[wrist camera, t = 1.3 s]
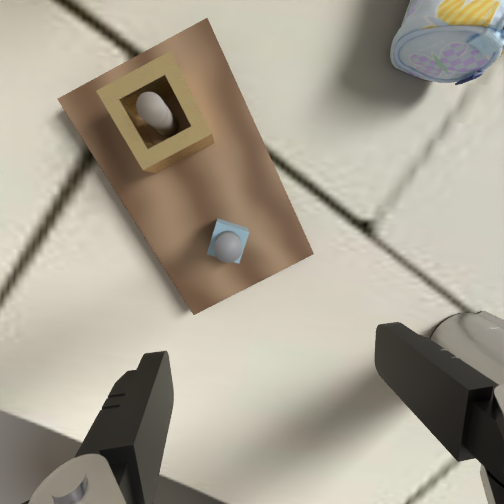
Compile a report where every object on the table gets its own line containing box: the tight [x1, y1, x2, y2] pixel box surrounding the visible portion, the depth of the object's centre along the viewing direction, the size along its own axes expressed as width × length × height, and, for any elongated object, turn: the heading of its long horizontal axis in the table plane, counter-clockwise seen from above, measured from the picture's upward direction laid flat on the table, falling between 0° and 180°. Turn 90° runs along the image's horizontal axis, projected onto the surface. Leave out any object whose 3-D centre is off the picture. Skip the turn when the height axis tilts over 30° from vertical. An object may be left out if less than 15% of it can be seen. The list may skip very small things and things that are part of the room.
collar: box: [96, 51, 214, 173], centre depth 22 cm, size 6×6×4 cm
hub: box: [207, 219, 249, 263], centre depth 24 cm, size 3×3×6 cm
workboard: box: [58, 18, 314, 315], centre depth 24 cm, size 15×24×8 cm, turn 27°
